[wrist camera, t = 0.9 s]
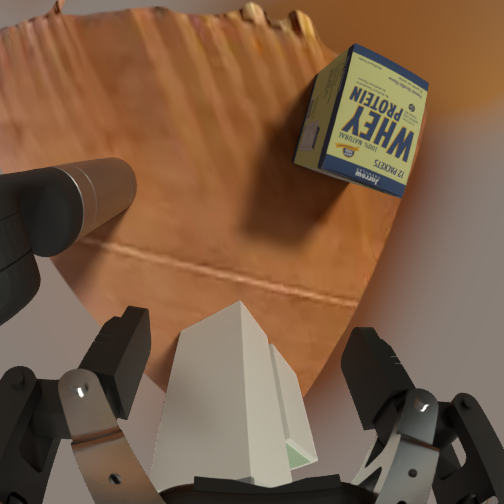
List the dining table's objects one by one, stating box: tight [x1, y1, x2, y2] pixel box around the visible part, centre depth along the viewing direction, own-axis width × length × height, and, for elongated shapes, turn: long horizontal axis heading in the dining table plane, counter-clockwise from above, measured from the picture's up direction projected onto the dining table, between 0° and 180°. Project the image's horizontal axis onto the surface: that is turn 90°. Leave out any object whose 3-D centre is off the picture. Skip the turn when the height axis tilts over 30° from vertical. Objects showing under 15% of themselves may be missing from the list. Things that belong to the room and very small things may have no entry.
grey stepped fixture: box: [150, 300, 318, 493], centre depth 34 cm, size 13×22×41 cm, turn 31°
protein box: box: [292, 43, 429, 198], centre depth 32 cm, size 10×16×16 cm
